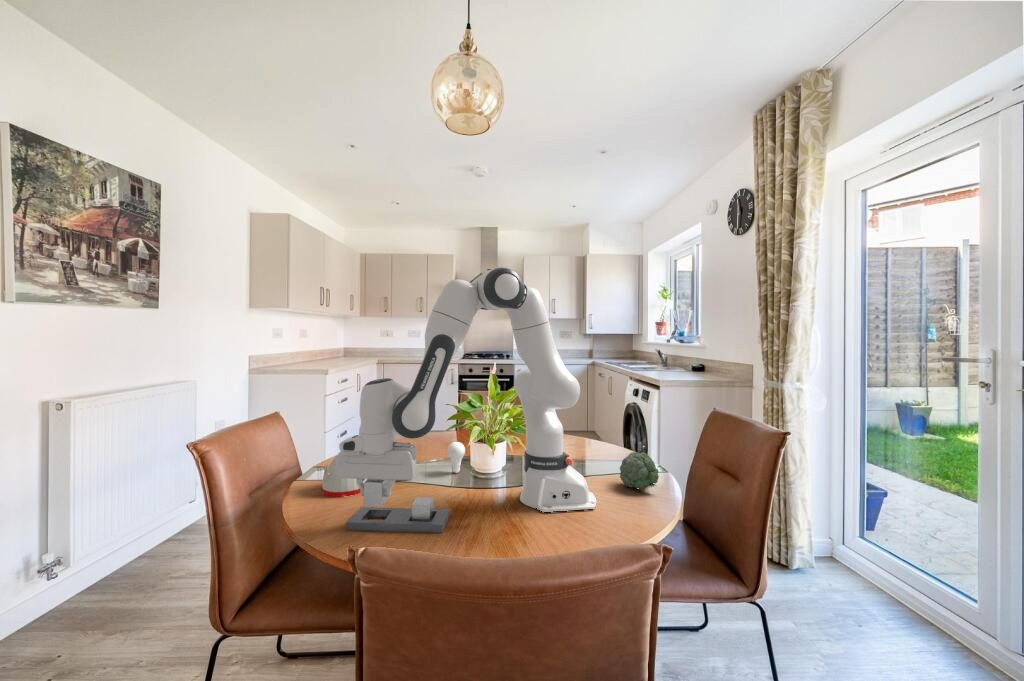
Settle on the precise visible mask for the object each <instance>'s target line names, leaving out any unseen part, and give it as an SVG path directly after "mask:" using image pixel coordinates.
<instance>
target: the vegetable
mask: <svg viewBox="0 0 1024 681" xmlns="http://www.w3.org/2000/svg"><path fill="white" fill-rule="evenodd" d="M619 471H620V474H619V478H620V480H621V481H622V483H623V485H624V484H625V485H626V486H625V485H624V486H625V487H627V486H628V487H627V488H634V487H635V488H639V489H640V490H641V489H642V490H645V489H646V488H648V487H649V486H650V484H651V483H654V484H657V483H658V482H659V477H660V475H659V469H658V468H656V464H655V462H654V460H652V458H651V457H650V456H649V454H648V453H646V452H643V451H642V452H636V451H633V452H630V453H629V454H628V455H627V456H625V457H624V458H623V459H622V460H621V464H620V466H619ZM635 488H634V489H635Z"/></svg>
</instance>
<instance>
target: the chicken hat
mask: <svg viewBox="0 0 1024 681" xmlns="http://www.w3.org/2000/svg"><path fill="white" fill-rule="evenodd" d="M336 459H337V455H336V456H335V457H334V458H333V459H332V460H331V461H330V463H329V465H328V466H327V467H324V472H323V475H322V484H321V485H322V486H321V487H322V488H321V493H323V494H322V495H323V496H325V495H326V496H325V497H328V496H331V497H330V498H345V497H344V496H349V497H351V496H350V495H354V496H356V495H355V494H357V495H359V494H358V493H361V489H360V488H359V486H358V485H357V483H356V479H351V478H338V477H337V476H336V474H335V466H336ZM366 480H367V479H365V480H364V481H363V482H365V481H366Z"/></svg>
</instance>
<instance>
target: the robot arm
mask: <svg viewBox="0 0 1024 681" xmlns="http://www.w3.org/2000/svg"><path fill="white" fill-rule="evenodd" d="M479 310H485V311H489V310H490V311H498V310H504V311H505V312H506V313H507V316H508V318H509V321H510V326H511V329H512V333H513V338H514V342H515V346H516V351H517V354H518V355H519V356H518V357H519V358H520V359H521V360H522V361H523V362H524V364H525V366H526V367H527V368H526V369H523V370H521V371H520V372H519V373H518V374H517V375H516V376H515V379H514V382H513V388H514V391H515V393H516V394H517V396H518V398H519V401H520V404H521V408H522V413H523V417H524V424H525V450H524V455H523V469H524V478H523V484H522V488H521V493H520V496H519V500H520V502H521V503H522V504H523V505H525V506H528V507H530V508H532V509H536V508H537V509H536V510H538V511H539V510H540V511H539V512H541V511H542V512H541V513H544V512H551V513H554V512H553V511H567V512H569V511H568V510H578V509H590V508H594V507H595V506H596V507H597V505H596V503H597V498H596V496H595V494H594V493H593V492H592V491H590V490H589V484H588V482H587V480H586V478H585V477H584V476H583V475H582V474H581V473H580V472H579V471H577V470H576V469H575V468H574V467H572V465H573V463H574V461H573V459H572V457H570V455H569V454H568V453H567V452H564V427H563V424H562V422H561V421H560V419H559V417H558V415H557V412H556V410H566V409H570V408H572V407H574V406H575V405H576V404H577V402H578V401H579V400H580V395H581V386H580V382H579V381H578V379H577V378H576V377H575V376H573V374H572V373H571V372H570V370H569V369H568V368H567V367H566V365H565V364H564V362H563V359H562V357H561V356H560V353H559V351H558V350H557V347H556V346H557V345H556V344H555V340H554V336H553V332H552V327H551V323H550V319H549V315H548V312H547V311H548V310H547V309H546V306H545V303H544V300H543V298H542V296H541V293H540V292H539V290H538V289H536V288H535V287H531V286H527V285H526V284H525V283H524V282H523V280H522V279H521V277H520V275H519V274H517V272H516V271H515V270H512V269H510V268H508V267H497V268H493V269H489V270H486V271H484V272H483V273H482V274H479V275H478V276H476V277H475V278H473V279H472V280H471V281H470V282H469V281H467V280H464V279H459V278H458V279H452V280H450V281H449V282H448V283H446V285H445V287H443V289H442V291H441V293H440V295H439V296H438V297H437V300H436V302H435V303H434V306H433V307H432V310H431V312H430V315H429V317H428V319H427V323H426V328H425V330H424V331H425V332H424V346H425V348H424V355H423V359H422V362H421V365H420V367H419V370H418V371H417V374H416V377H415V380H414V381H413V385H412V387H411V388H408V387H406V386H404V385H402V384H400V383H398V382H396V380H394V379H393V378H388V377H387V378H379V379H375V380H370V381H368V382H367V383H366V384H364V386H363V387H362V388H361V392H360V399H359V417H360V426H359V428H358V429H359V430H358V434H357V435H353V436H350V437H348V438H346V439H344V440H343V441H341V442H340V443H339V444H338V448H339V450H340V451H339V452H338V453H337V455H336V456H337V459H336V466H335V474H336V476H337V477H338V478H351V479H356V483H357V485H358V486H359V488H360V489H361V494H360V496H362V497H364V482H363V481H364V480H365V479H383V480H388V488H385V489H384V494H383V496H386V497H387V498H389V497H391V496H392V488H393V487H394V485H395V483H396V481H411V480H413V479H414V478H415V476H416V475H417V473H418V472H417V470H418V469H417V461H416V460H417V457H418V449H417V447H416V446H415V445H414V444H413V443H411V442H401V441H400V442H399V441H398V442H397V441H396V433H397V434H398V435H400V436H401V437H404V438H406V439H411V440H412V439H419V438H421V437H424V436H425V435H428V433H429V432H431V431H432V428H433V427H434V425H435V423H436V422H435V421H436V400H437V397H438V394H439V390H440V389H441V386H442V383H443V381H444V378H445V375H446V373H447V371H448V367H449V365H450V364H451V361H452V360H453V358H454V356H455V355H456V353H457V352H458V350H459V348H460V347H461V345H462V344H463V343H464V340H465V339H466V336H467V334H468V332H469V330H470V327H471V326H472V322H473V320H474V317H475V315H476V314H477V313H478V311H479Z"/></svg>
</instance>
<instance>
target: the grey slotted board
mask: <svg viewBox="0 0 1024 681" xmlns="http://www.w3.org/2000/svg"><path fill="white" fill-rule="evenodd" d="M379 517H384V518H383V519H384V520H379V519H378V520H376V519H370V518H379ZM385 517H387V518H385ZM368 518H369V519H368ZM367 519H368V520H367ZM449 519H450V509H448V508H444V509H443V508H434V514H433V520H432V522H422V521H412V507H409V508H408V507H406V508H405V507H377V506H360V508H358V509H357V510H356V512H354V513H353V514H352V515H351V517H350V518H349V519H348V520H346V522H345V531H354V532H355V531H356V532H357V531H358V532H359V531H360V532H389V533H390V532H391V533H393V532H394V533H395V532H396V533H402V532H403V533H425V532H433V534H434V533H435V534H443V533H444V530H445V528H446V525H447V523H448V521H449Z"/></svg>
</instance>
